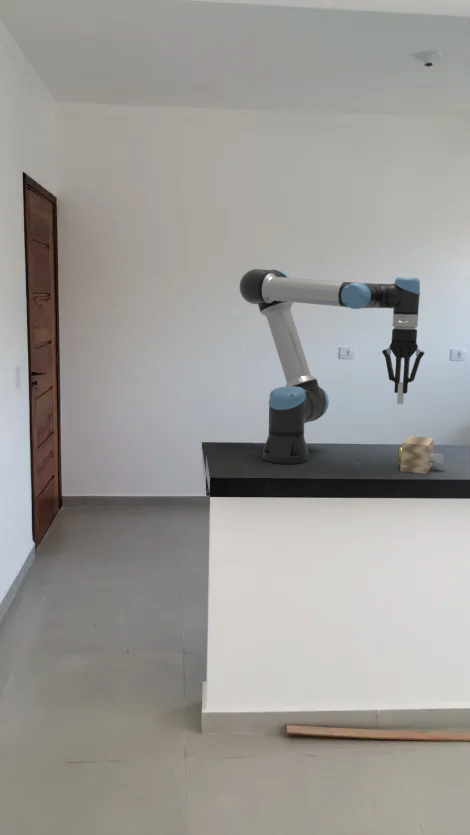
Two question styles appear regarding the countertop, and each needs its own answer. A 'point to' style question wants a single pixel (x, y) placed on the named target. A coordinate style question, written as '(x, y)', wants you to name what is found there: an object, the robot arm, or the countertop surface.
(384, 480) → the countertop surface
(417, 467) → the bore block
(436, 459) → the pin
